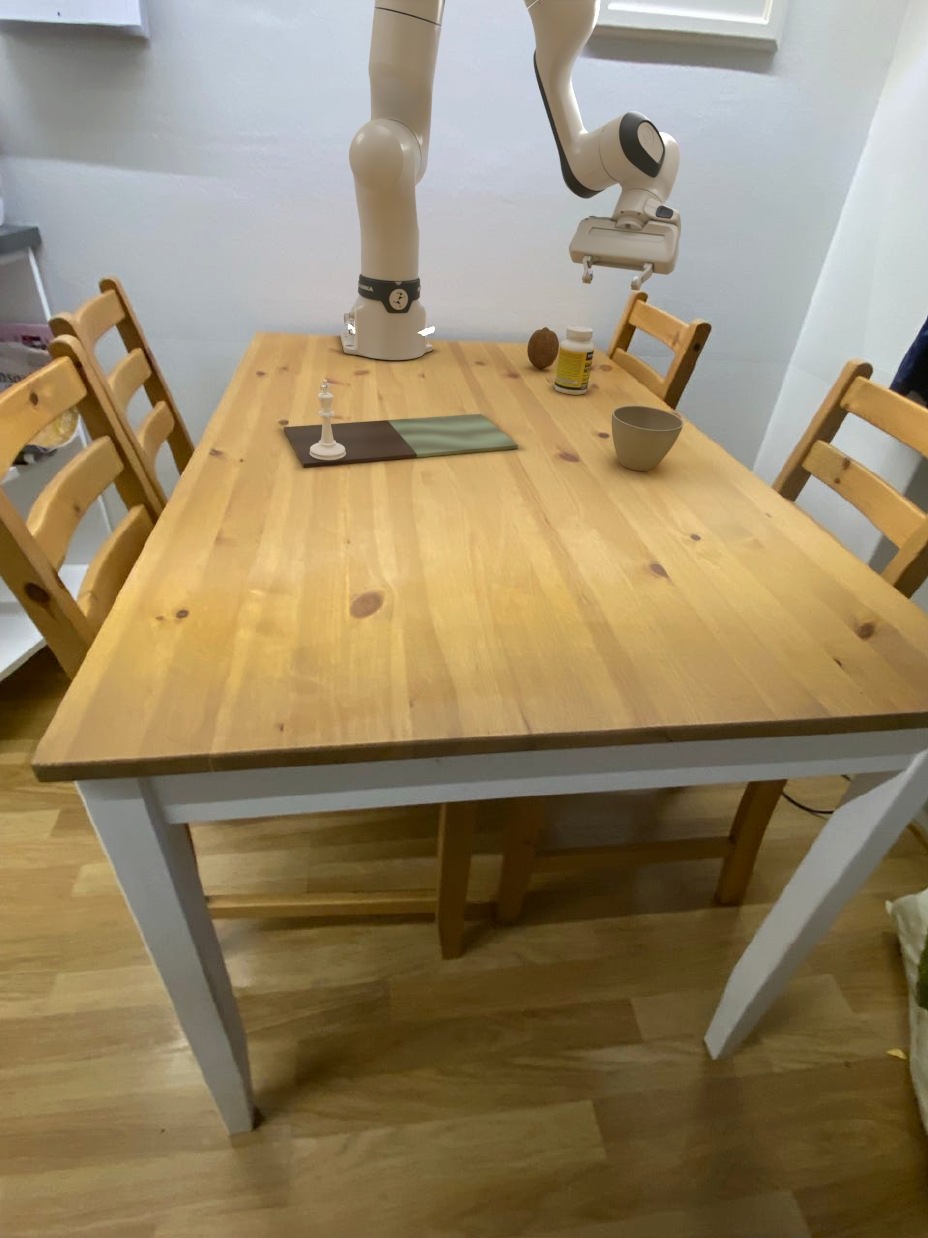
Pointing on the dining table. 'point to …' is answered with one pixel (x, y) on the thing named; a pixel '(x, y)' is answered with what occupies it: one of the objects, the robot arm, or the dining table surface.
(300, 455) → the mat
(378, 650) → the dining table surface
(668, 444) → the flower pot
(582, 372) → the pill bottle
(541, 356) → the fruit
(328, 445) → the chess piece
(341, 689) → the dining table surface
